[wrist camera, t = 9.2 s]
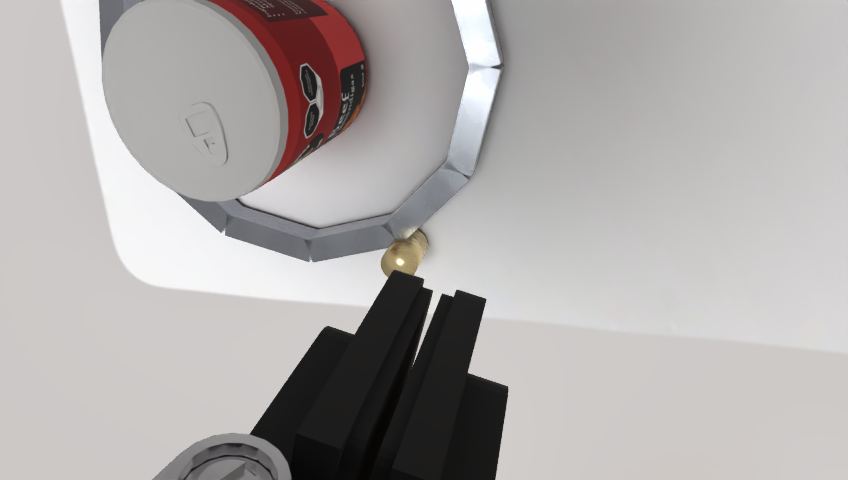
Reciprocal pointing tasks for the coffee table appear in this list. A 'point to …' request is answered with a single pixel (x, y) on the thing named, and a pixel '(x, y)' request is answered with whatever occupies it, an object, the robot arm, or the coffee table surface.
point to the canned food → (230, 88)
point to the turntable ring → (421, 205)
